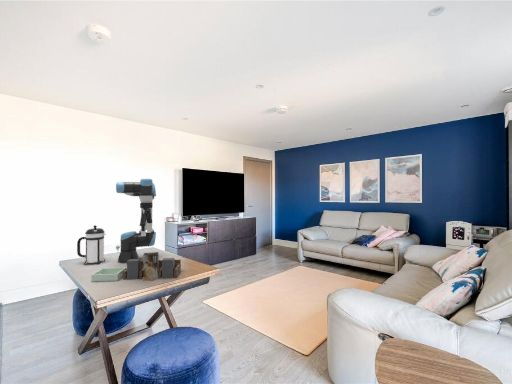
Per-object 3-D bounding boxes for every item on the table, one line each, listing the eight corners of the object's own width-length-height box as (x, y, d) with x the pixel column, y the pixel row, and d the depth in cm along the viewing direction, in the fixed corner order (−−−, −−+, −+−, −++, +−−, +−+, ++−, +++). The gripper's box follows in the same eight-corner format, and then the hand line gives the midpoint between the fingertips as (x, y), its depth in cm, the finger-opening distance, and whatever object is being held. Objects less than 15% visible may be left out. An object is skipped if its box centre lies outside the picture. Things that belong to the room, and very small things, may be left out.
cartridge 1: (129, 277, 166) (129, 259, 166) (140, 276, 166) (140, 258, 166) (126, 279, 161) (126, 261, 161) (138, 279, 162) (138, 260, 162)
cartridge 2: (163, 275, 168) (163, 258, 168) (174, 275, 169) (174, 257, 169) (161, 278, 163) (161, 260, 163) (172, 278, 164) (172, 259, 164)
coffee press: (101, 259, 209) (101, 223, 209) (108, 262, 199) (108, 225, 199) (76, 263, 196) (76, 225, 196) (83, 267, 185) (83, 227, 185)
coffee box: (159, 275, 169) (159, 251, 169) (158, 278, 163) (158, 254, 163) (144, 276, 167) (144, 252, 167) (142, 279, 161) (142, 255, 161)
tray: (102, 274, 170) (102, 268, 170) (126, 274, 171) (126, 267, 171) (91, 282, 156) (91, 274, 156) (117, 281, 158) (117, 274, 158)
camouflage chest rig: (132, 272, 176) (132, 260, 176) (180, 270, 179) (180, 259, 179) (120, 281, 157) (120, 269, 157) (175, 279, 161) (175, 267, 161)
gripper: (145, 201, 175) (145, 231, 175) (134, 202, 151) (134, 237, 151) (156, 201, 176) (156, 231, 176) (147, 202, 152) (147, 237, 152)
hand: (146, 234), depth 163 cm, fingers open, 13 cm apart
